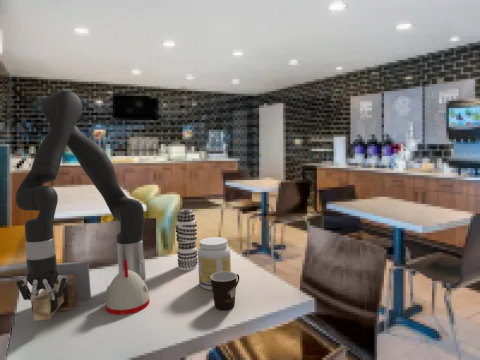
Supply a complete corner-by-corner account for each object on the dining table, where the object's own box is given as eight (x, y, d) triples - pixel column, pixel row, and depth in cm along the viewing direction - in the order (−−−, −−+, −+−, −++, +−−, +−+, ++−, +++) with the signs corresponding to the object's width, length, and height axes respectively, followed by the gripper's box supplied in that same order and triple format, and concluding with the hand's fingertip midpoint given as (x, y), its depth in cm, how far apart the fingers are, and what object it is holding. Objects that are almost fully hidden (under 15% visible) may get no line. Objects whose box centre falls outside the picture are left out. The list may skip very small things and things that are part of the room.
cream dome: (147, 293, 128) (145, 252, 127) (151, 309, 115) (149, 264, 114) (105, 300, 123) (102, 258, 122) (105, 318, 110) (102, 271, 109)
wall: (91, 297, 126) (88, 261, 125) (89, 298, 125) (87, 262, 123) (48, 300, 124) (45, 264, 123) (47, 302, 123) (43, 265, 121)
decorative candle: (202, 264, 157) (200, 208, 155) (192, 271, 149) (189, 212, 146) (184, 262, 161) (181, 207, 158) (173, 269, 152) (170, 211, 149)
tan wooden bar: (63, 301, 114) (62, 283, 114) (48, 319, 102) (47, 299, 102) (50, 302, 114) (49, 284, 113) (33, 320, 102) (32, 300, 101)
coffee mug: (218, 314, 111) (216, 283, 110) (207, 303, 118) (206, 274, 117) (250, 305, 116) (250, 276, 115) (238, 296, 124) (237, 268, 123)
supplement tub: (223, 276, 143) (222, 234, 141) (236, 287, 132) (235, 242, 130) (194, 282, 137) (192, 239, 136) (205, 293, 126) (203, 247, 125)
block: (78, 303, 121) (76, 273, 120) (73, 309, 116) (71, 279, 115) (53, 305, 120) (50, 275, 119) (47, 312, 115) (44, 281, 114)
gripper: (71, 249, 108) (74, 304, 110) (20, 252, 106) (25, 307, 108) (62, 257, 101) (66, 315, 102) (8, 260, 99) (13, 319, 100)
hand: (45, 311), depth 105 cm, fingers closed on tan wooden bar, 4 cm apart
